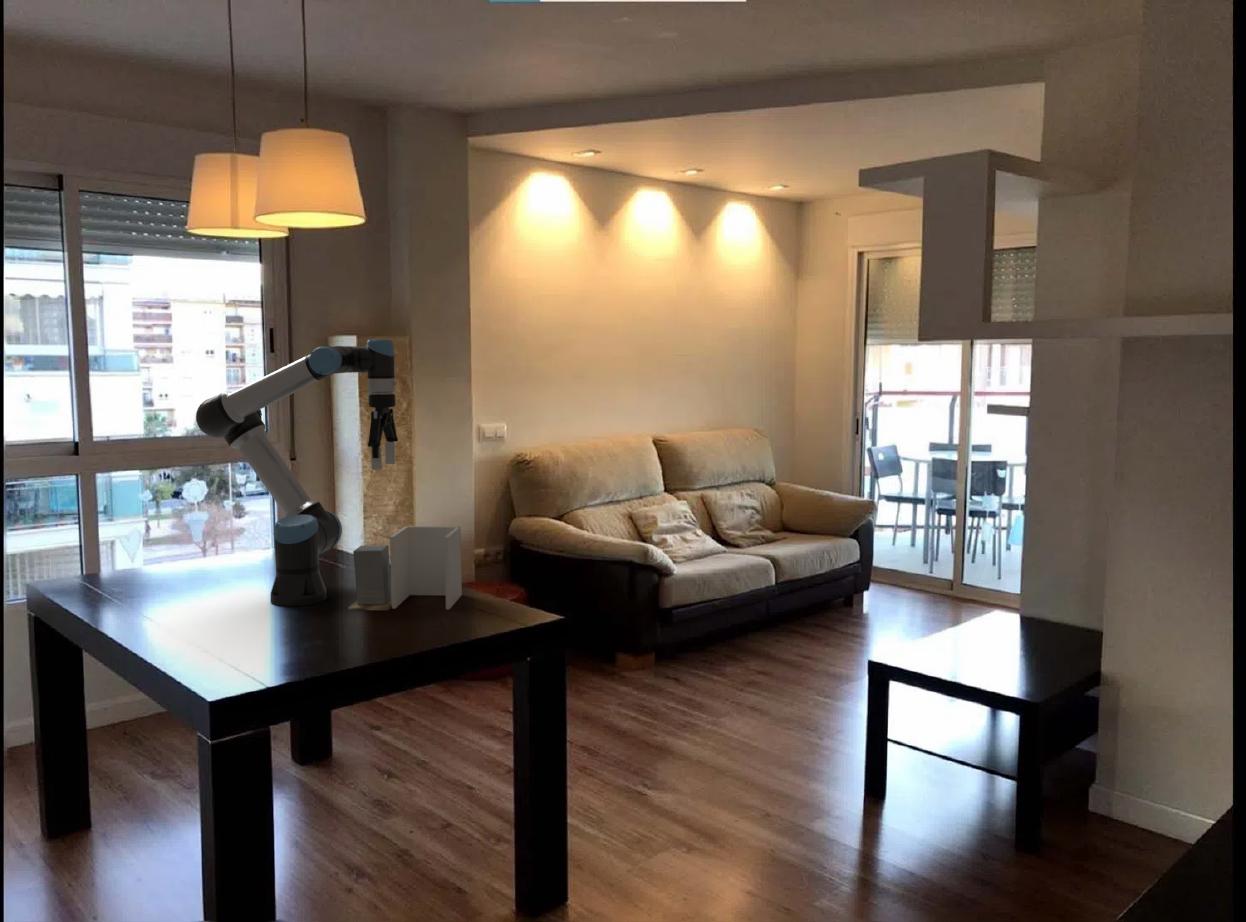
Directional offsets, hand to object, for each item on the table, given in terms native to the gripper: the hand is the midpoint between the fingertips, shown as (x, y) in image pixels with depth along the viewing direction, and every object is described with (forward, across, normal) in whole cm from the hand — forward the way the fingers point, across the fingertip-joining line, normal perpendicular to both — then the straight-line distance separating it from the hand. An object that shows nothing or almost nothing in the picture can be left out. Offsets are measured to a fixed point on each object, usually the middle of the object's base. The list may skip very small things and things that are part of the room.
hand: (383, 466), depth 292 cm
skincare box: (+36, -16, -1) cm, 40 cm away
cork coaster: (+37, -16, -1) cm, 40 cm away
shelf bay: (+37, -12, -15) cm, 41 cm away
